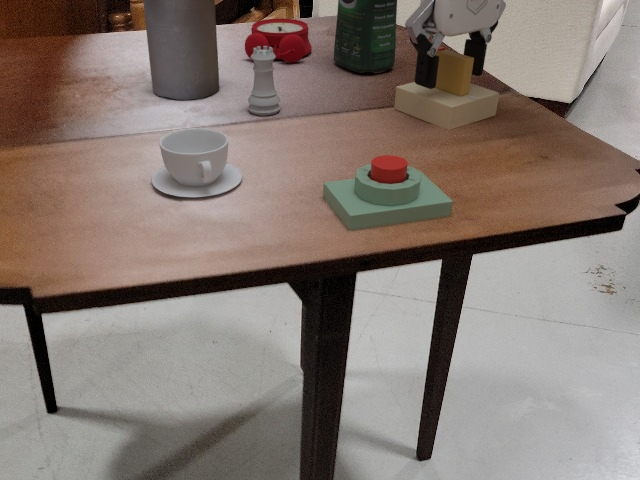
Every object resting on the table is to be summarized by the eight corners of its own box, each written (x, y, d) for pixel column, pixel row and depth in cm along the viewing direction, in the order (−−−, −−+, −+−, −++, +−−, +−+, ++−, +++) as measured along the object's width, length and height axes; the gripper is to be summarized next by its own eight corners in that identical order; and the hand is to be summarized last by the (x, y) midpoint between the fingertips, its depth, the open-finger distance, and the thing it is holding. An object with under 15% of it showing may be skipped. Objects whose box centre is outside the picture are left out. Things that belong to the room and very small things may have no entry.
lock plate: (496, 115, 97) (500, 91, 95) (448, 130, 93) (452, 106, 91) (440, 95, 103) (443, 72, 101) (393, 108, 99) (395, 85, 97)
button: (397, 169, 76) (398, 153, 75) (411, 183, 73) (413, 166, 72) (364, 173, 75) (366, 157, 74) (378, 187, 72) (379, 171, 71)
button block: (417, 184, 80) (421, 153, 78) (450, 216, 74) (455, 184, 72) (322, 197, 78) (323, 165, 76) (349, 231, 72) (351, 198, 70)
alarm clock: (316, 19, 123) (305, 19, 109) (314, 59, 125) (303, 64, 112) (255, 17, 124) (237, 17, 111) (254, 57, 127) (237, 62, 113)
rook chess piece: (286, 107, 100) (286, 46, 95) (272, 118, 96) (271, 55, 92) (256, 103, 101) (255, 42, 96) (242, 113, 98) (239, 51, 93)
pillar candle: (212, 76, 111) (205, -35, 101) (225, 97, 103) (220, -21, 94) (147, 82, 109) (135, -31, 99) (157, 103, 101) (144, -16, 92)
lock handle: (468, 94, 95) (474, 55, 92) (460, 96, 94) (465, 58, 91) (435, 82, 98) (439, 45, 96) (426, 84, 98) (431, 47, 95)
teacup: (143, 170, 83) (138, 130, 80) (226, 158, 86) (224, 118, 83) (164, 208, 76) (159, 165, 73) (254, 192, 79) (253, 150, 76)
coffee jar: (402, 70, 113) (416, -68, 101) (360, 78, 110) (369, -64, 98) (365, 54, 119) (374, -77, 108) (325, 62, 116) (329, -73, 105)
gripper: (440, -64, 78) (421, 101, 89) (544, -78, 86) (515, 74, 97) (392, -72, 83) (379, 85, 94) (494, -85, 91) (472, 61, 102)
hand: (448, 79), depth 95 cm, fingers open, 8 cm apart
